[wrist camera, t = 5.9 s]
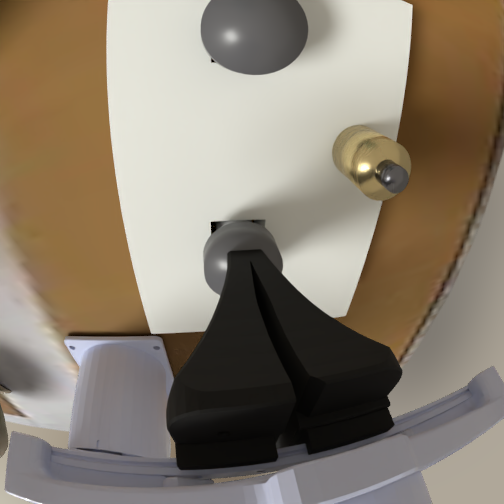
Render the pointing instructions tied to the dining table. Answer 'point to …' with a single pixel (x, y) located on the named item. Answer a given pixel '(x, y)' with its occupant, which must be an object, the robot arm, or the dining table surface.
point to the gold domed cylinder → (372, 162)
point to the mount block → (247, 147)
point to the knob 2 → (235, 248)
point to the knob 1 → (254, 34)
